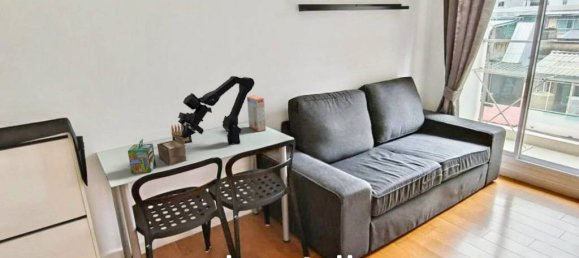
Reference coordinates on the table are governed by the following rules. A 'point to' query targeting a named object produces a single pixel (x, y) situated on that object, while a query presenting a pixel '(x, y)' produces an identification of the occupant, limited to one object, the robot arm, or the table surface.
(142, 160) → the chalk box
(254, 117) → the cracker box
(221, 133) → the table surface
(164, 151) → the walnut box
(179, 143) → the lid
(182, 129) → the ammunition clip
